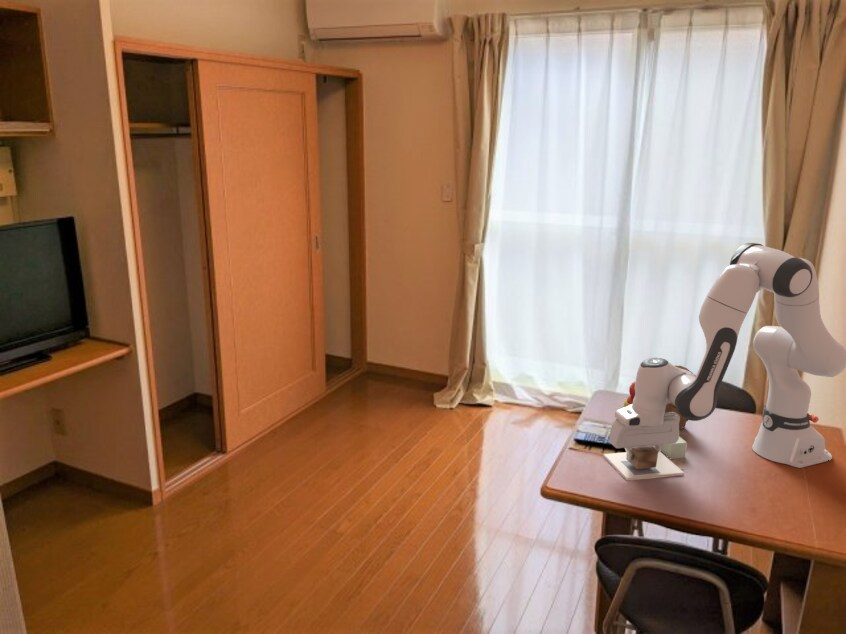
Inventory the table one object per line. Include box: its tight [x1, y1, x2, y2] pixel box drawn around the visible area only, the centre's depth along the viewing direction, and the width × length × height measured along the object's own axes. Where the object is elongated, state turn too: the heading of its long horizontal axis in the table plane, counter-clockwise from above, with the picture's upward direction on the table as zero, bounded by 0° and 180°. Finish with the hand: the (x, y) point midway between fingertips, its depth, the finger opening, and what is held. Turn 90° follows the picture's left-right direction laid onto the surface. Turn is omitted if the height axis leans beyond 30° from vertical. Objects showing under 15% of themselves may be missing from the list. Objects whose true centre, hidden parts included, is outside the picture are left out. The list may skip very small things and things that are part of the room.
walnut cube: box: [626, 445, 658, 469], centre depth 191 cm, size 6×6×5 cm
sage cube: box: [660, 436, 688, 459], centre depth 202 cm, size 5×5×5 cm
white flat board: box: [602, 450, 685, 482], centre depth 195 cm, size 18×14×1 cm
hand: (641, 458), depth 192 cm, fingers closed on walnut cube, 6 cm apart
